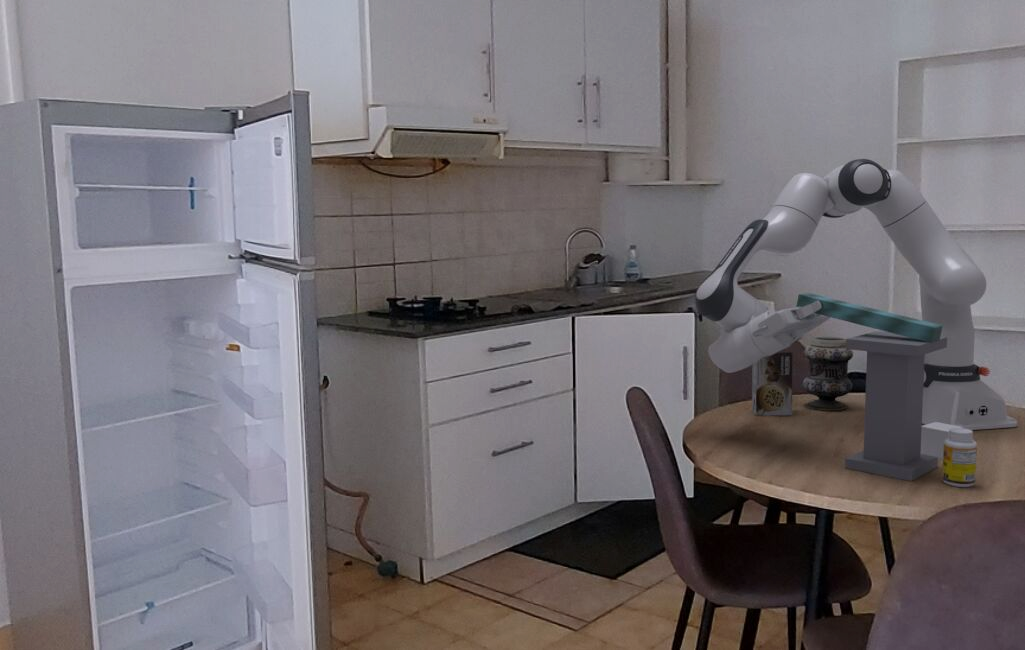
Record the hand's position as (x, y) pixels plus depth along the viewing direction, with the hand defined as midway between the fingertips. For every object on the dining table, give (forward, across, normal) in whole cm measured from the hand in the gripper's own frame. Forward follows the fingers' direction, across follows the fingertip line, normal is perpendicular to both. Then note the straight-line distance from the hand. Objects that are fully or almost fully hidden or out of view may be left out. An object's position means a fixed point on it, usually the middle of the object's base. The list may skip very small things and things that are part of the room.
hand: (827, 302), depth 188 cm
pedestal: (-3, 0, +35) cm, 35 cm away
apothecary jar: (-34, +43, +18) cm, 58 cm away
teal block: (+5, 0, +7) cm, 9 cm away
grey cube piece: (0, +16, +37) cm, 40 cm away
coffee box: (-40, +28, +14) cm, 51 cm away
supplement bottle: (+8, -2, +42) cm, 43 cm away
